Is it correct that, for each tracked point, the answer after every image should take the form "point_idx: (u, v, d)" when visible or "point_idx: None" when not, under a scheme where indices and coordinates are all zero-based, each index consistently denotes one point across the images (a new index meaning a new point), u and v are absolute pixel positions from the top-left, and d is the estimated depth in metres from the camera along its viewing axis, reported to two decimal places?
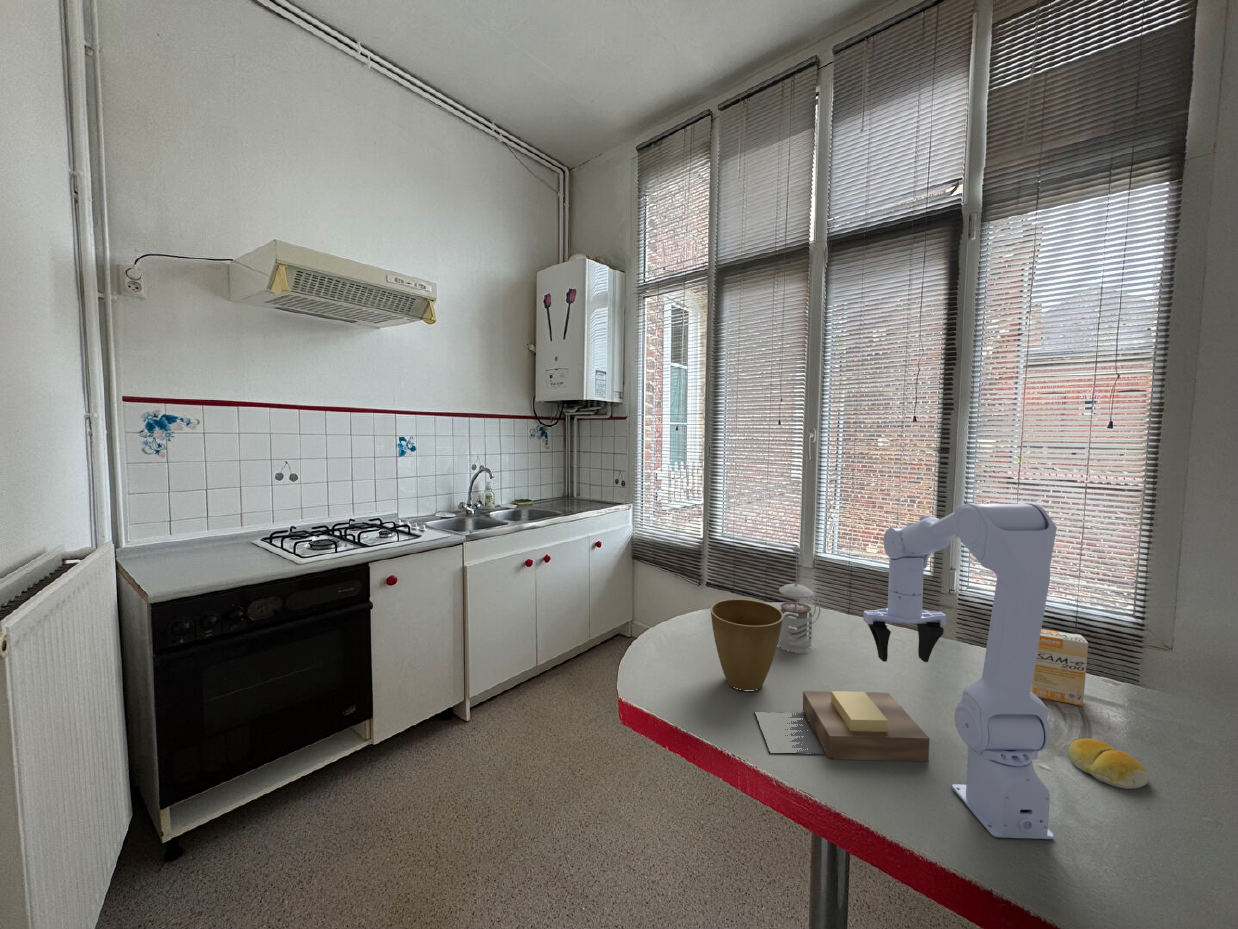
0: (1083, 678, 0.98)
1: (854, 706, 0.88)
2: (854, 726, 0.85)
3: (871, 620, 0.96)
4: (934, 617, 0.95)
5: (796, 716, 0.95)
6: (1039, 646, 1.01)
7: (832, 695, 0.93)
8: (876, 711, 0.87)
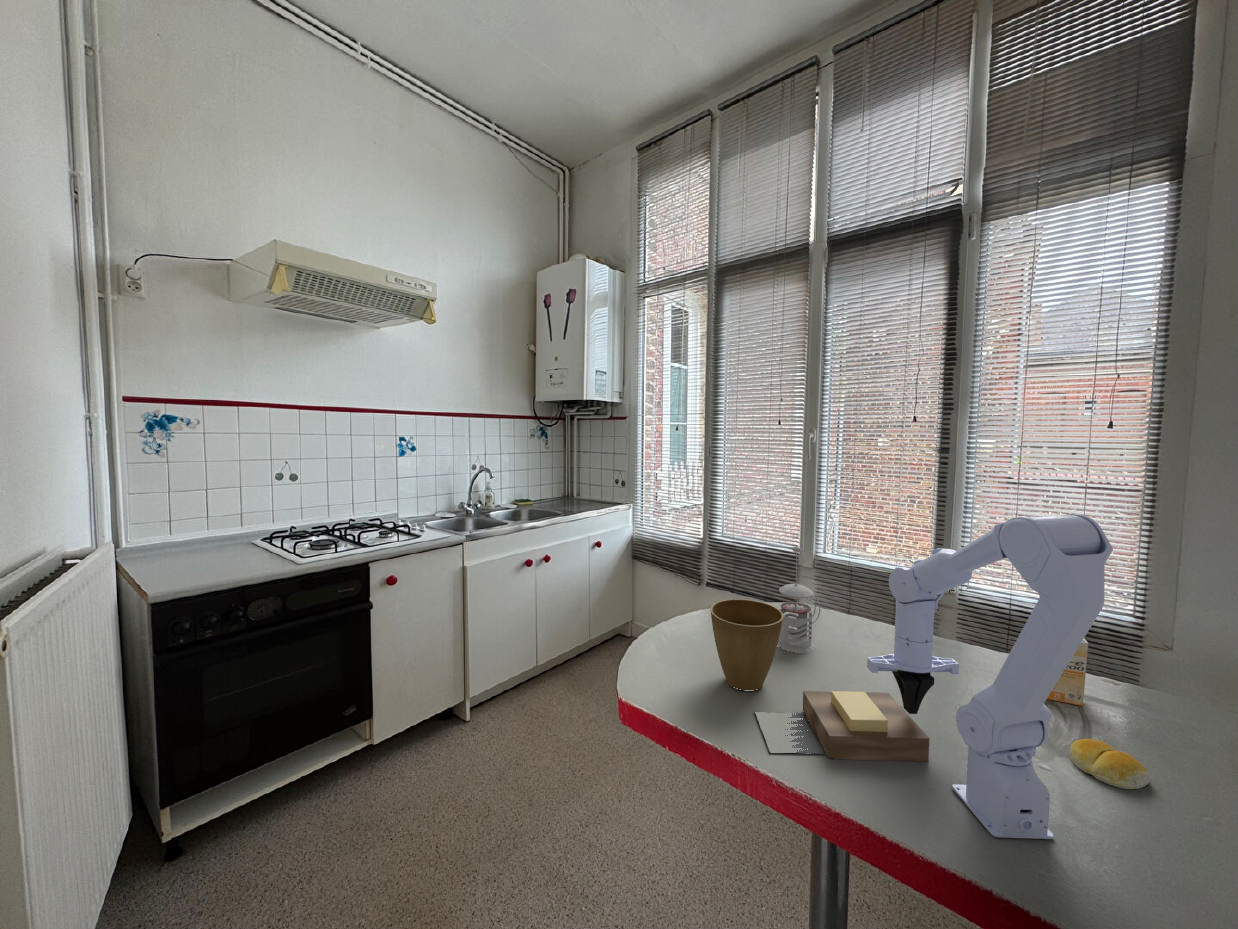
0: (1083, 678, 0.98)
1: (854, 706, 0.88)
2: (854, 726, 0.85)
3: (876, 668, 0.87)
4: (945, 666, 0.86)
5: (796, 716, 0.95)
6: None
7: (832, 695, 0.93)
8: (876, 711, 0.87)
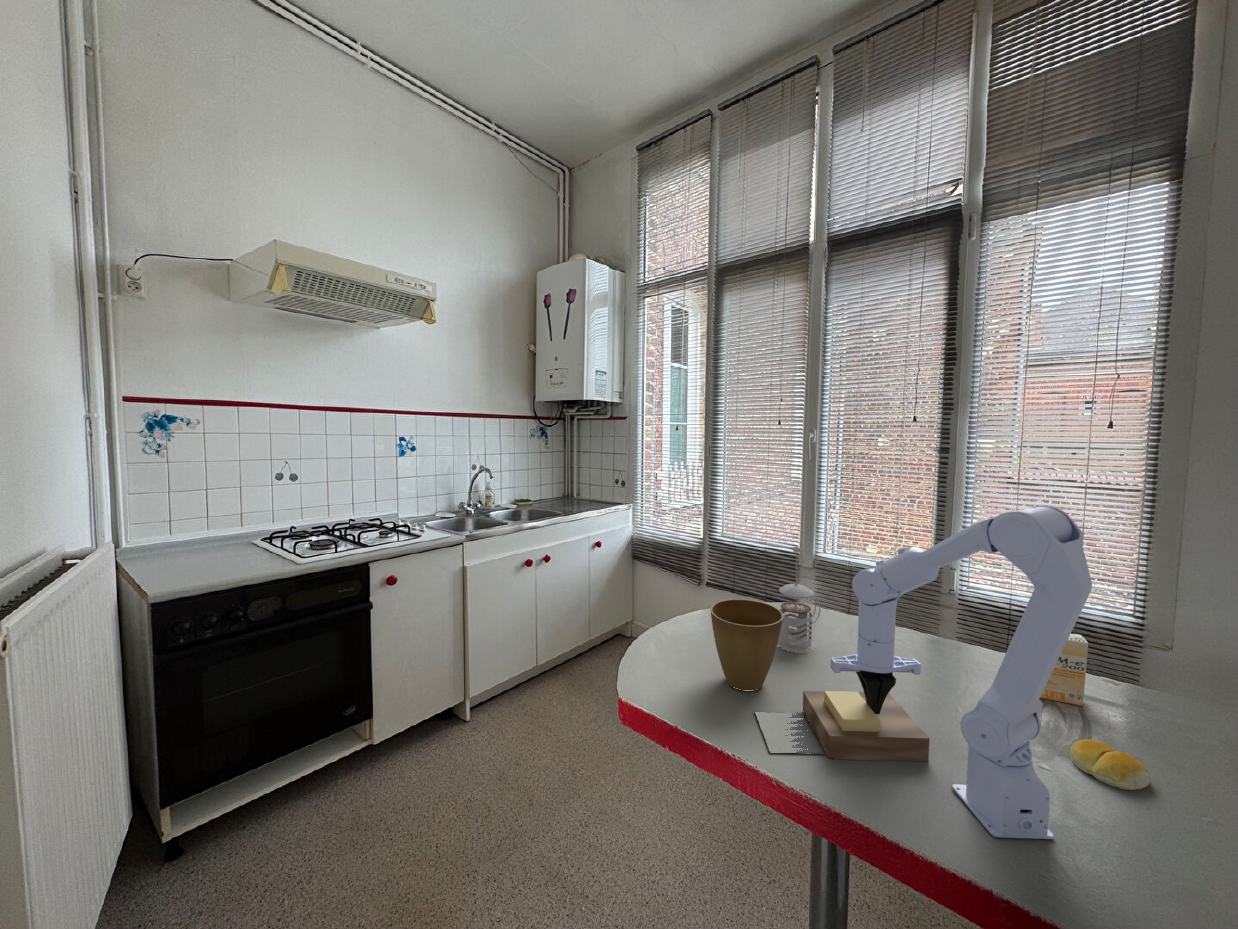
0: (1083, 678, 0.98)
1: (847, 706, 0.88)
2: (846, 726, 0.85)
3: (838, 669, 0.88)
4: (907, 666, 0.86)
5: (796, 716, 0.95)
6: None
7: (825, 695, 0.93)
8: (868, 711, 0.87)
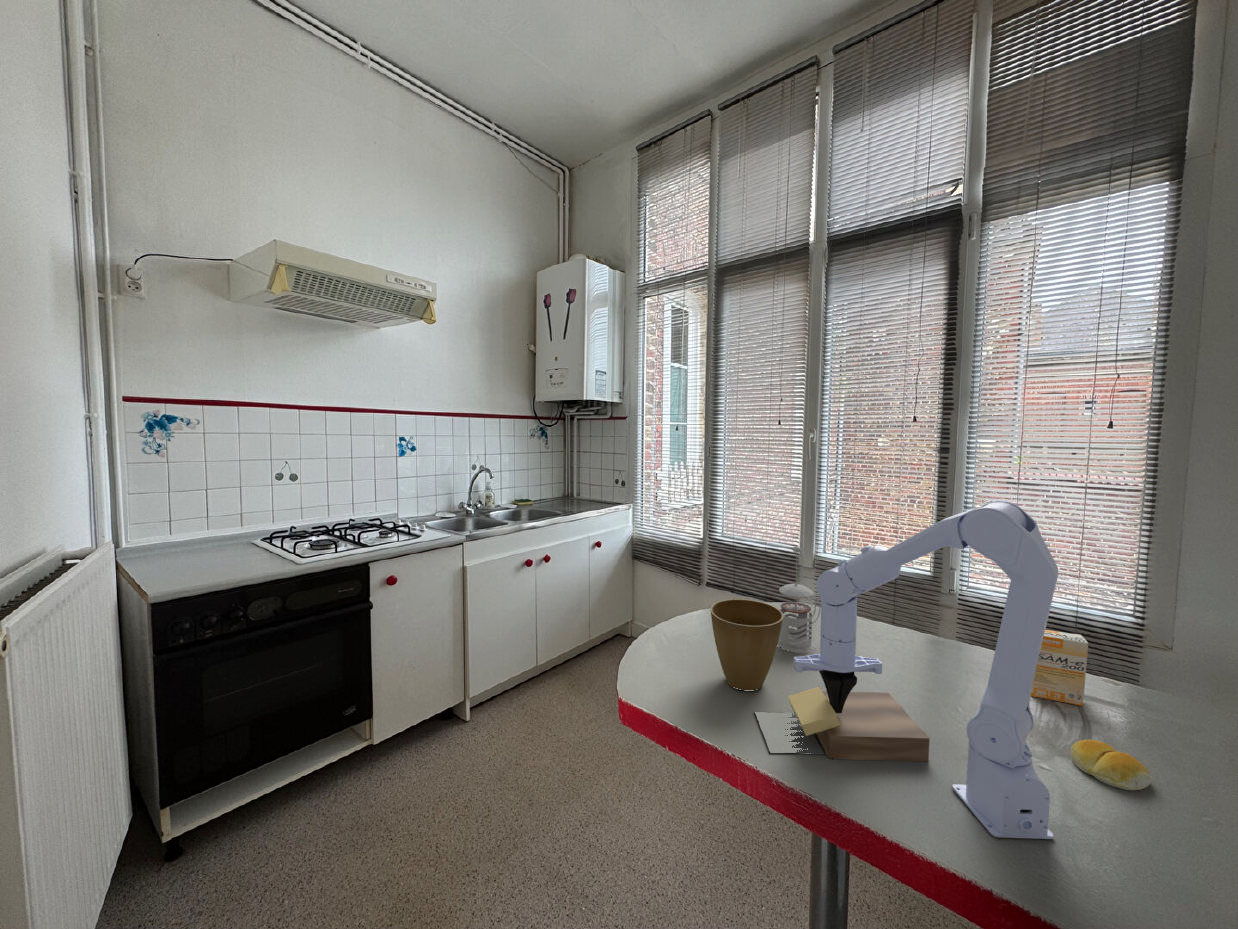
0: (1083, 678, 0.98)
1: (807, 708, 0.89)
2: (807, 730, 0.85)
3: (800, 668, 0.88)
4: (868, 665, 0.87)
5: None
6: None
7: (789, 700, 0.94)
8: (827, 707, 0.87)
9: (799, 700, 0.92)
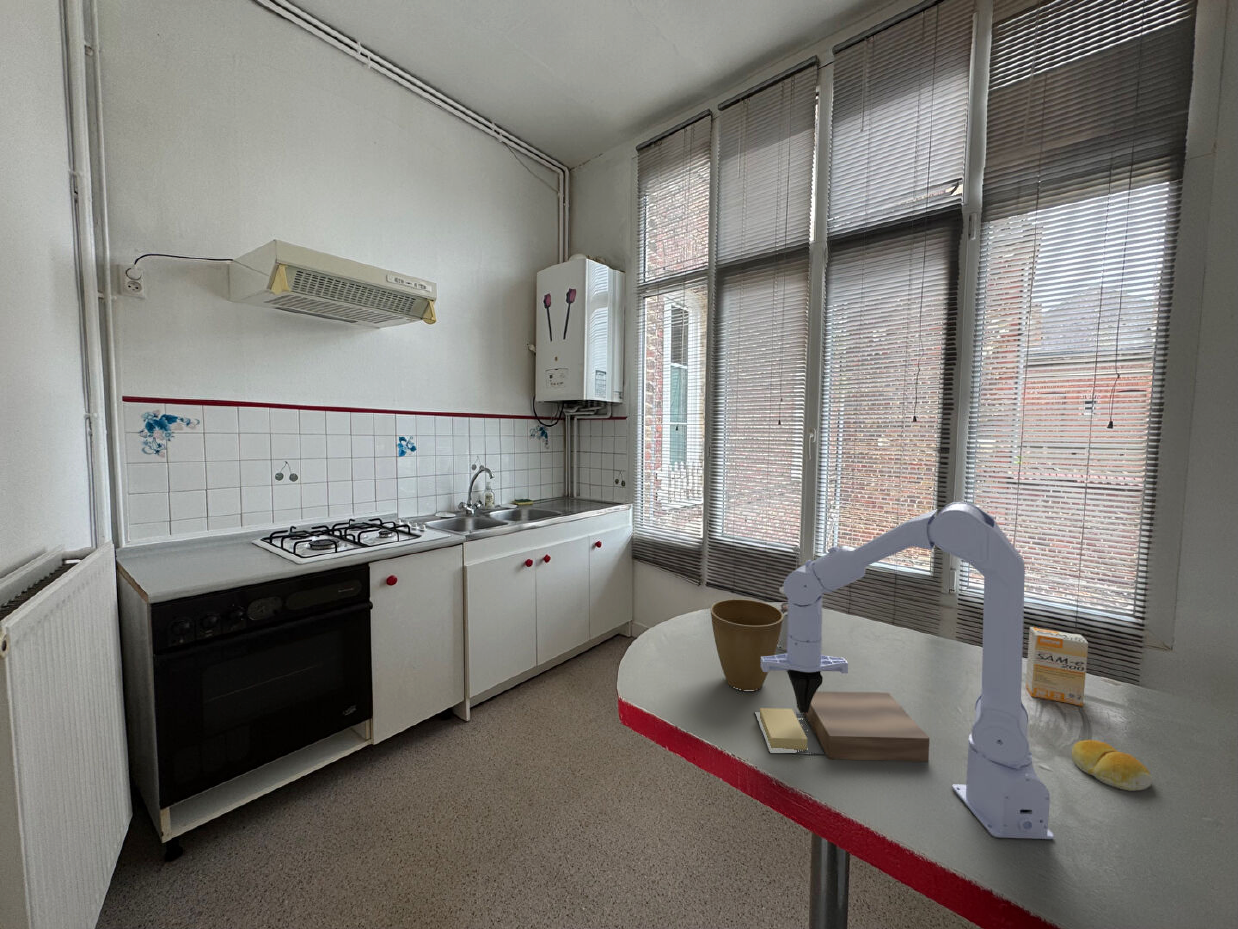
0: (1083, 678, 0.98)
1: None
2: (803, 743, 0.85)
3: (767, 668, 0.88)
4: (834, 665, 0.87)
5: (796, 716, 0.95)
6: (1039, 646, 1.01)
7: None
8: None
9: None
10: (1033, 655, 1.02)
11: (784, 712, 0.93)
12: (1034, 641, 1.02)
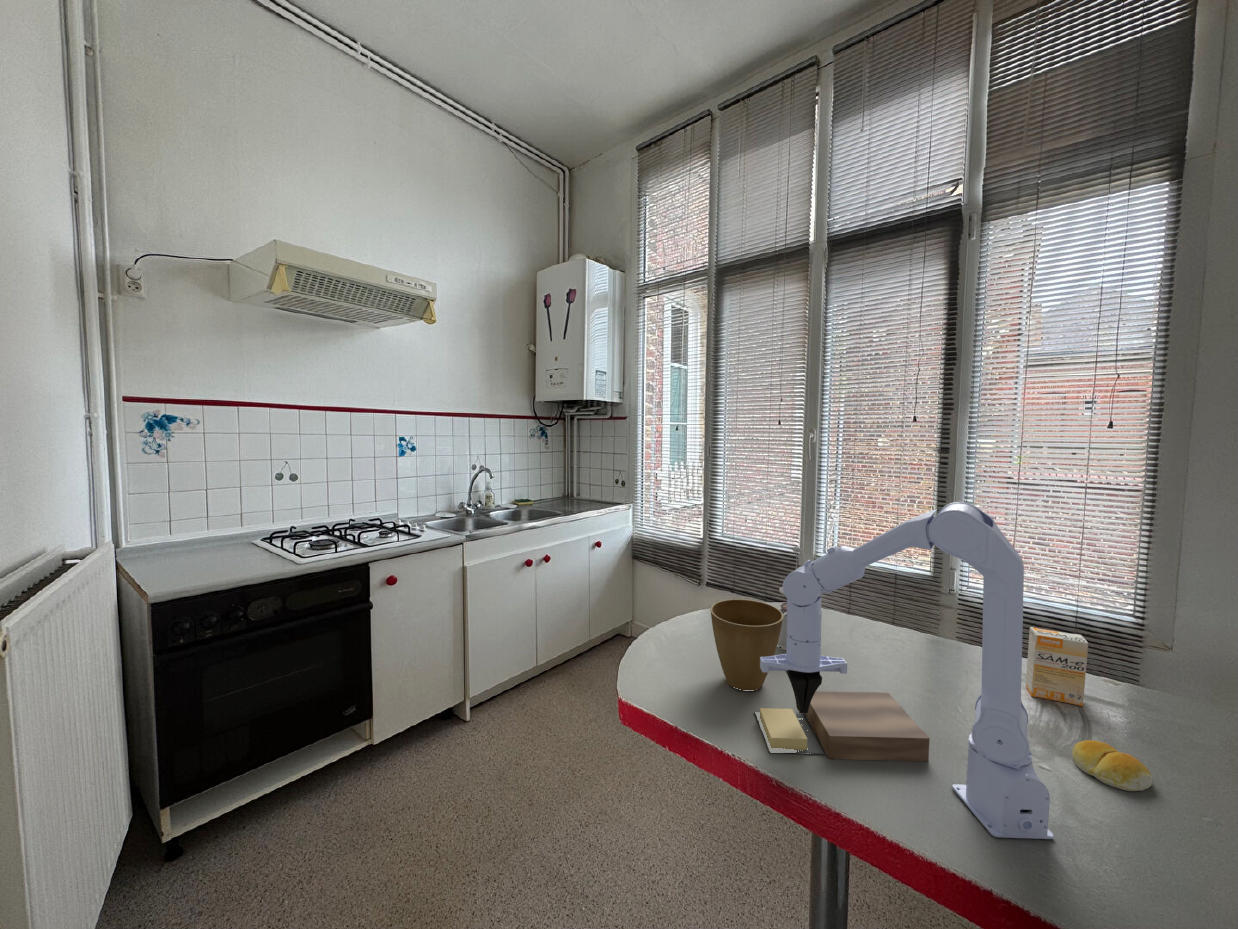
0: (1083, 678, 0.98)
1: None
2: (803, 743, 0.85)
3: (766, 668, 0.88)
4: (833, 665, 0.87)
5: (796, 716, 0.95)
6: (1039, 646, 1.01)
7: None
8: None
9: None
10: (1033, 655, 1.02)
11: (784, 712, 0.93)
12: (1034, 641, 1.01)
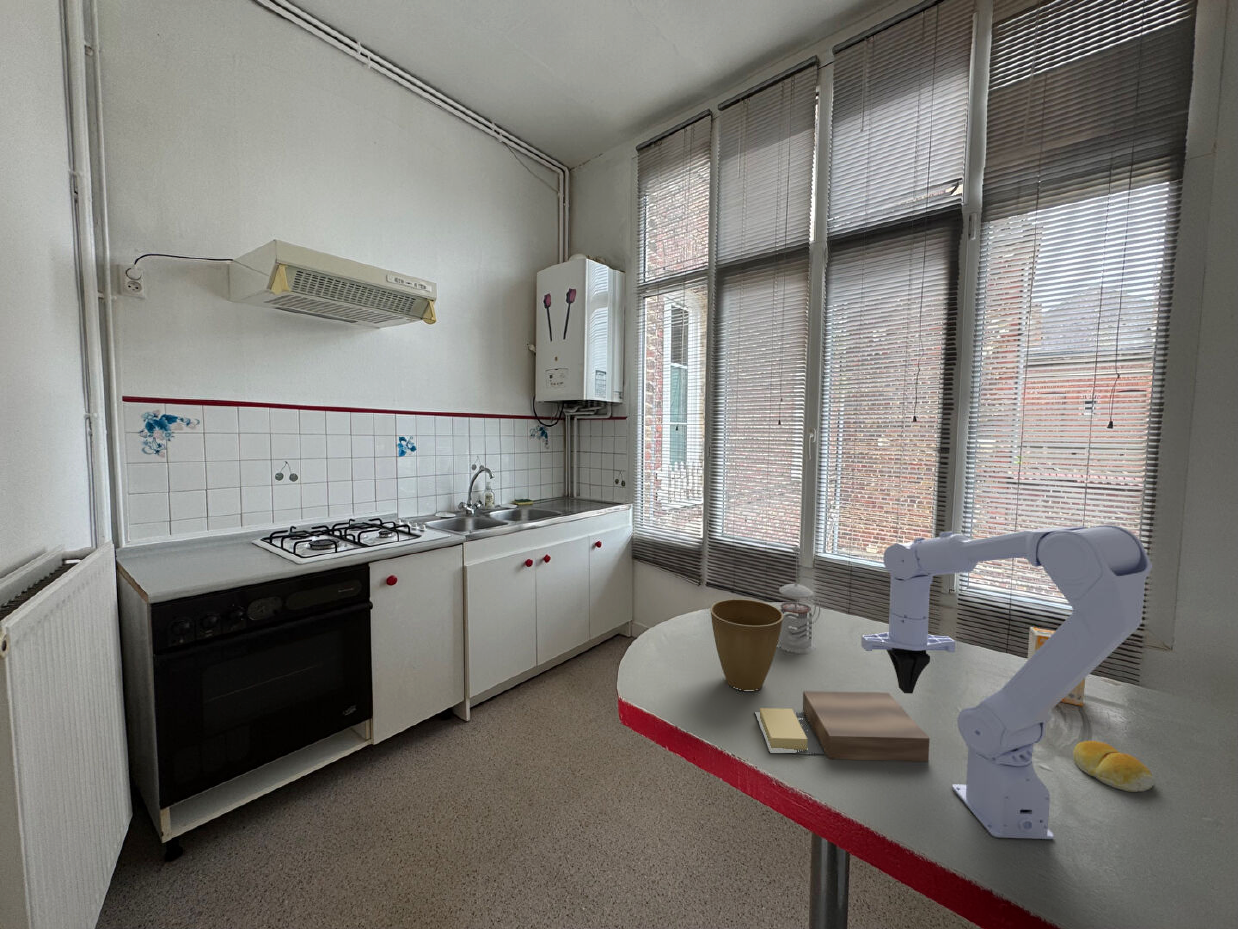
0: None
1: None
2: (803, 743, 0.85)
3: (870, 646, 0.85)
4: (941, 643, 0.84)
5: (796, 716, 0.95)
6: (1039, 646, 1.01)
7: None
8: None
9: None
10: None
11: (784, 712, 0.93)
12: (1034, 641, 1.01)
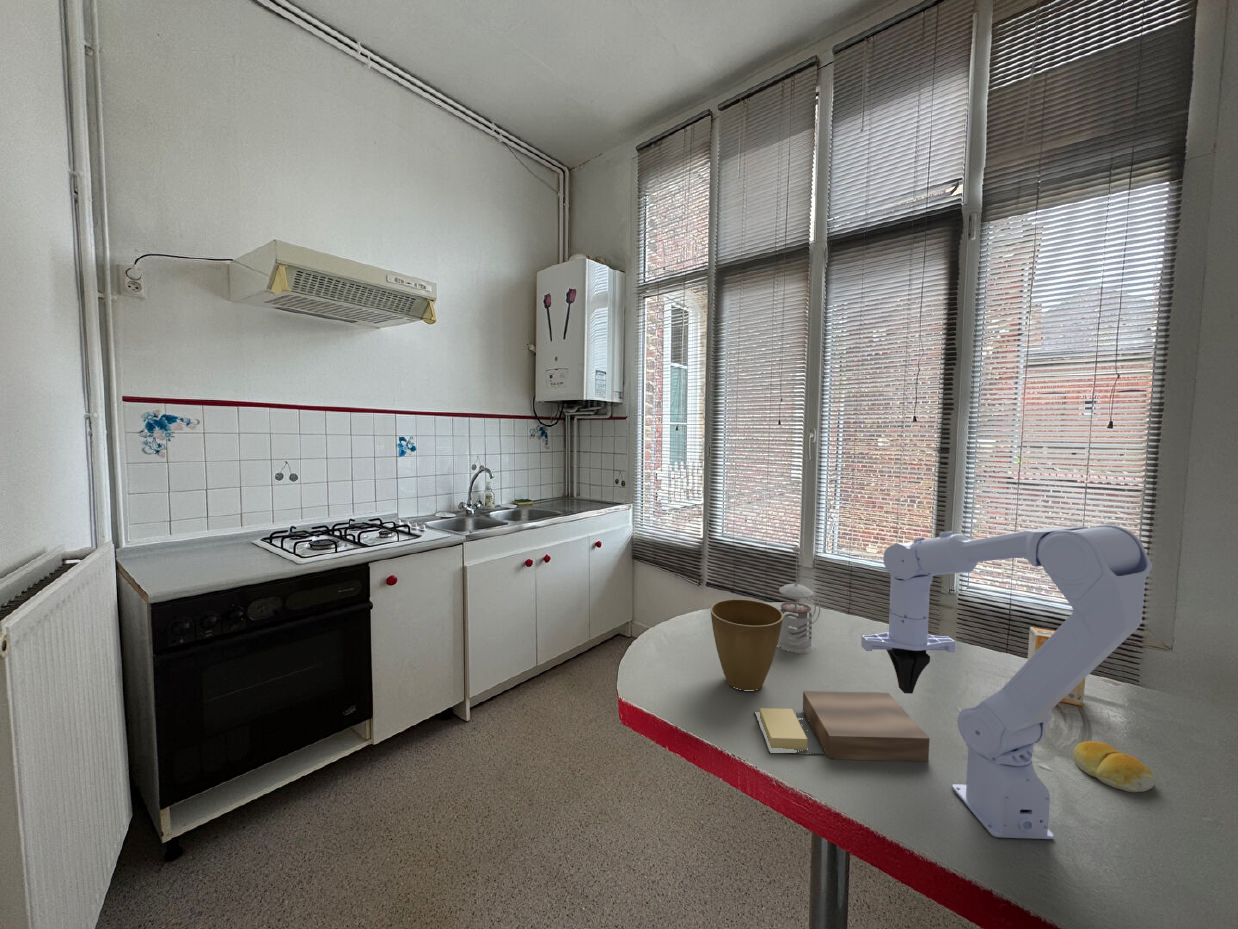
0: None
1: None
2: (803, 743, 0.85)
3: (870, 646, 0.85)
4: (941, 643, 0.84)
5: (796, 716, 0.95)
6: (1039, 646, 1.01)
7: None
8: None
9: None
10: None
11: (784, 712, 0.93)
12: (1034, 641, 1.01)
